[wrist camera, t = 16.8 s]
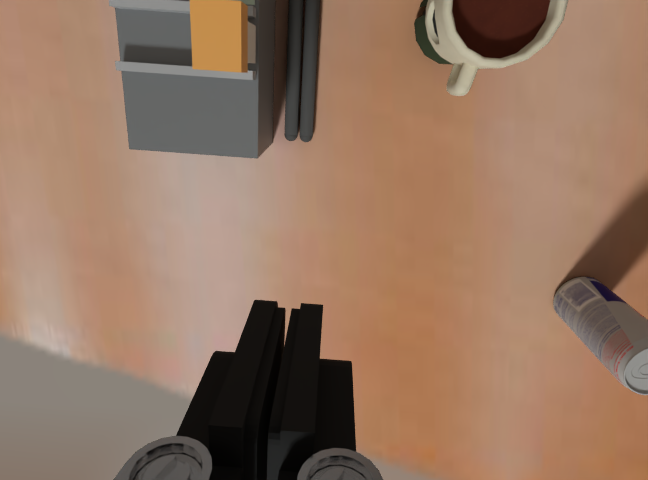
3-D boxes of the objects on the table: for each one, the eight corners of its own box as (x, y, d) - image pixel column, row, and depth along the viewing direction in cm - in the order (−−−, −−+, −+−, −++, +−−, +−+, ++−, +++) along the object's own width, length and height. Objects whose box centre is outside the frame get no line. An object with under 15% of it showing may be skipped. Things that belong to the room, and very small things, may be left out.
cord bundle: (291, -50, 35) (289, -54, 34) (323, -48, 35) (322, -52, 34) (285, 139, 40) (283, 141, 39) (312, 141, 40) (311, 143, 39)
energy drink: (604, 313, 46) (689, 390, 35) (553, 323, 47) (621, 402, 35) (603, 270, 44) (693, 336, 33) (550, 281, 45) (620, 350, 34)
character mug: (434, -62, 34) (487, -136, 22) (516, -34, 35) (613, -91, 23) (389, 78, 38) (413, 80, 26) (464, 101, 39) (522, 114, 26)
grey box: (154, -65, 35) (93, -111, 26) (276, -57, 35) (256, -100, 26) (167, 135, 40) (122, 151, 32) (272, 142, 40) (254, 161, 32)
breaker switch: (220, 13, 29) (189, -3, 23) (261, 16, 29) (240, 1, 23) (221, 70, 30) (192, 69, 24) (260, 72, 30) (241, 72, 24)
